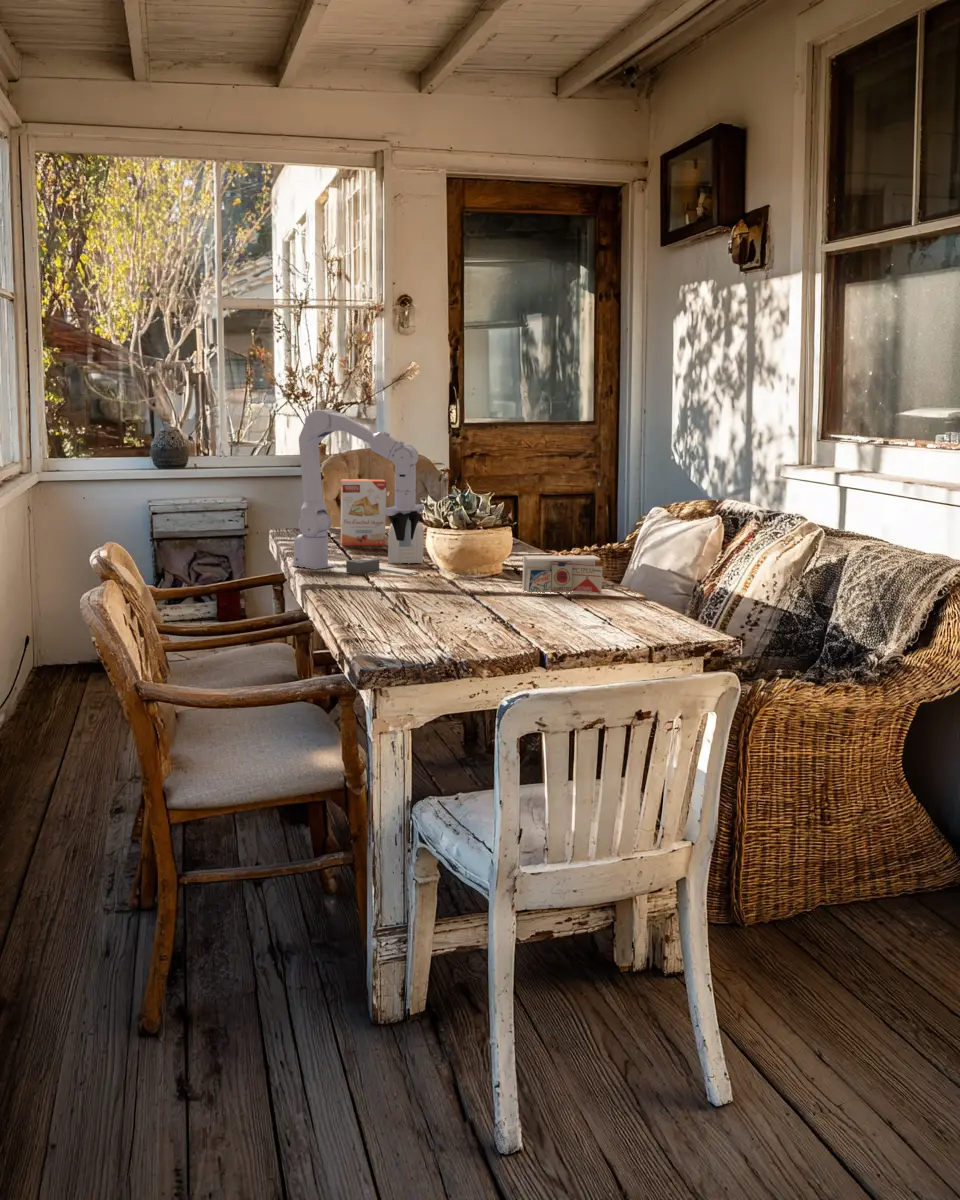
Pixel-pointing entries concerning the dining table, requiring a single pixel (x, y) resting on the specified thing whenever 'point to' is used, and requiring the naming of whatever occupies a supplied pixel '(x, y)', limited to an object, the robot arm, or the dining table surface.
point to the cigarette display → (562, 574)
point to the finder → (362, 566)
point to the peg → (406, 535)
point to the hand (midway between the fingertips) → (404, 539)
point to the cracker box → (363, 512)
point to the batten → (396, 570)
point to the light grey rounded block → (406, 553)
